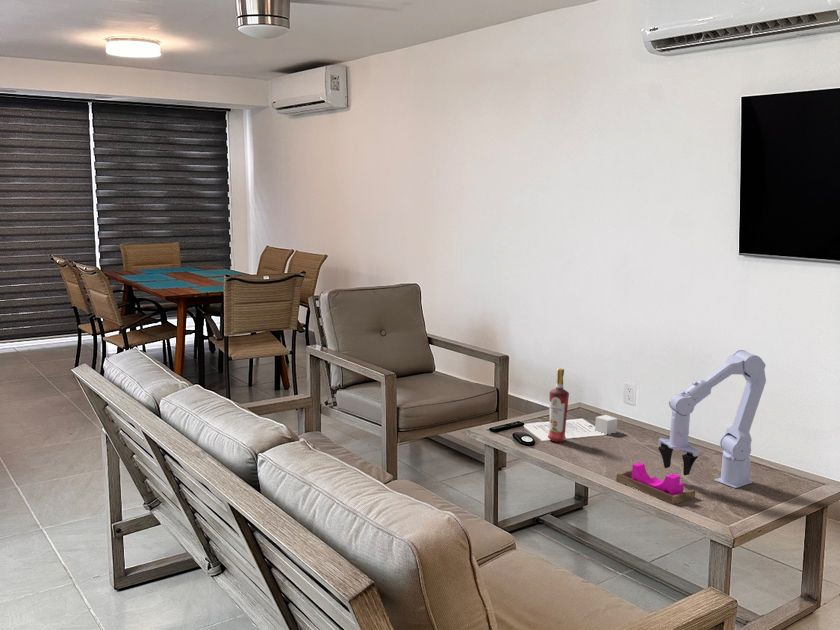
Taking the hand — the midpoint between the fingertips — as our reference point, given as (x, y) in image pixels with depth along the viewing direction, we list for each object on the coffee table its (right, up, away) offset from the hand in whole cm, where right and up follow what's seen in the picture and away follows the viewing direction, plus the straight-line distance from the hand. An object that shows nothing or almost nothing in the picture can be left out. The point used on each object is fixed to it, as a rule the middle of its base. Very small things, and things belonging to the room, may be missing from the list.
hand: (676, 471), depth 252 cm
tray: (-9, -5, -5) cm, 11 cm away
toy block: (-9, -6, -7) cm, 12 cm away
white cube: (-10, +4, +54) cm, 55 cm away
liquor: (-32, +3, +42) cm, 53 cm away
